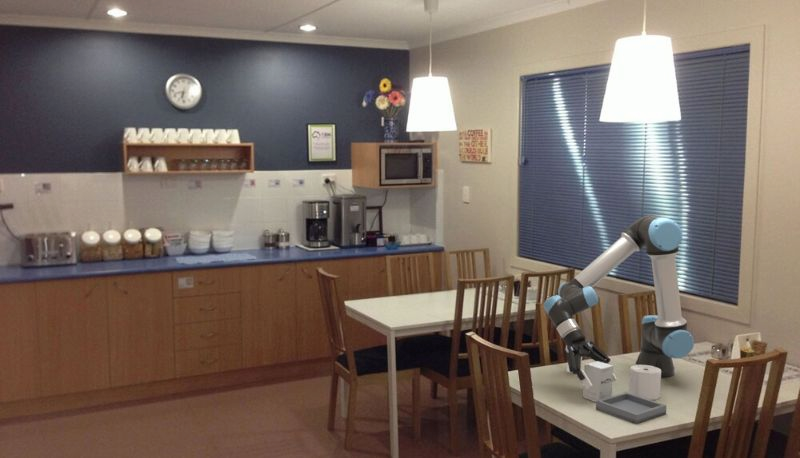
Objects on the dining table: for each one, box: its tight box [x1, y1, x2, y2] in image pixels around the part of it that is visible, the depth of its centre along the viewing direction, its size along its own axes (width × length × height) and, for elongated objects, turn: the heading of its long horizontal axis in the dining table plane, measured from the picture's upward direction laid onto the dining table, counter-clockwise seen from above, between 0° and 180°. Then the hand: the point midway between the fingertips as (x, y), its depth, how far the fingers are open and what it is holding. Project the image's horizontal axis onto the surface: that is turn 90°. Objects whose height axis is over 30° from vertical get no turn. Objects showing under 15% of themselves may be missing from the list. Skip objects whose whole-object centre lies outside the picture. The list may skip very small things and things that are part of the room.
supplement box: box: [582, 361, 614, 403], centre depth 261 cm, size 7×7×13 cm
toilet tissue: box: [628, 364, 662, 401], centre depth 265 cm, size 11×12×10 cm
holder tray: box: [595, 391, 667, 425], centre depth 249 cm, size 16×16×3 cm
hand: (602, 384), depth 260 cm, fingers open, 13 cm apart
